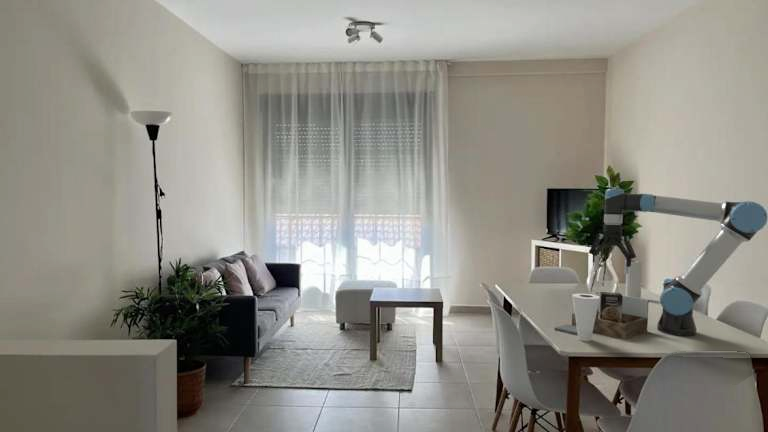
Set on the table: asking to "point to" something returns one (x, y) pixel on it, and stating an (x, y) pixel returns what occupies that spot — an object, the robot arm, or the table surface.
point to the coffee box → (610, 306)
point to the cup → (585, 314)
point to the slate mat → (567, 329)
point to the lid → (634, 306)
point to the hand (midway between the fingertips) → (611, 272)
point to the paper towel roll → (634, 280)
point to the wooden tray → (619, 326)
